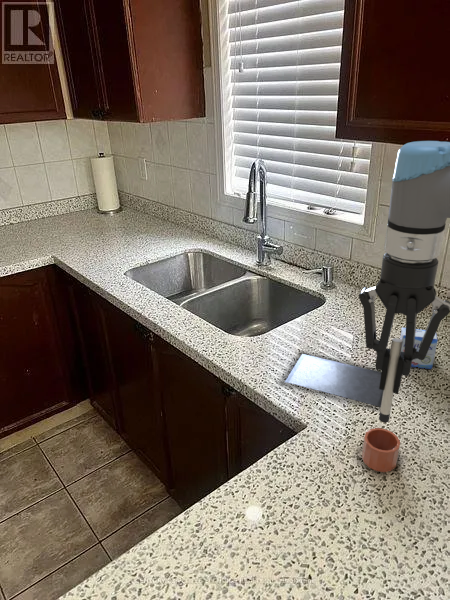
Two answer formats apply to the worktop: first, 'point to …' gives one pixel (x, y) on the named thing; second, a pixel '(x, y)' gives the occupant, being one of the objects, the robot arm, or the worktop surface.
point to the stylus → (390, 380)
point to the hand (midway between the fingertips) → (389, 386)
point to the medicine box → (419, 334)
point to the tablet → (337, 379)
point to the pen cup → (380, 458)
